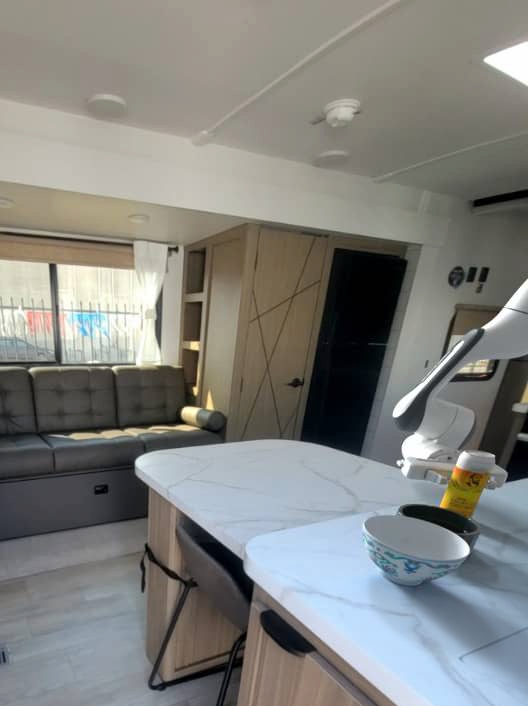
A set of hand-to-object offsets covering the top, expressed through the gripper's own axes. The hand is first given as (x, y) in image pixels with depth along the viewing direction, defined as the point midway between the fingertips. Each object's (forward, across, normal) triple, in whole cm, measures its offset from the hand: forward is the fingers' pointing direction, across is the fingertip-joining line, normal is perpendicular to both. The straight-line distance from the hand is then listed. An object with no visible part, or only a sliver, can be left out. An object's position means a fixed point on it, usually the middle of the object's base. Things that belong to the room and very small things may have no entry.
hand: (467, 483), depth 88 cm
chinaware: (+29, -21, +8) cm, 36 cm away
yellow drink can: (0, 0, +8) cm, 8 cm away
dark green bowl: (+15, -11, +8) cm, 20 cm away
